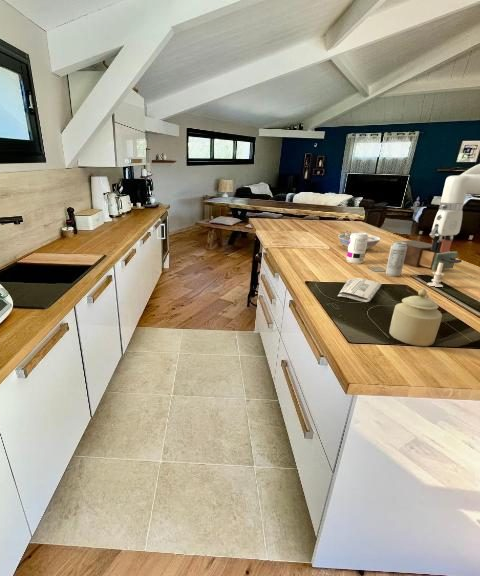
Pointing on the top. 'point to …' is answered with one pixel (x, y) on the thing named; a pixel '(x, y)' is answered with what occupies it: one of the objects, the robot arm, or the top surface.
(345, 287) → the newspaper
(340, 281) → the top surface
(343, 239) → the ramen bowl
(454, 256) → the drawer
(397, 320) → the sugar bowl
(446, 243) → the block
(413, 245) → the cabinet
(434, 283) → the white tapered tower
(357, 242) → the supplement can
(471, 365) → the top surface
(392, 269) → the energy drink can
